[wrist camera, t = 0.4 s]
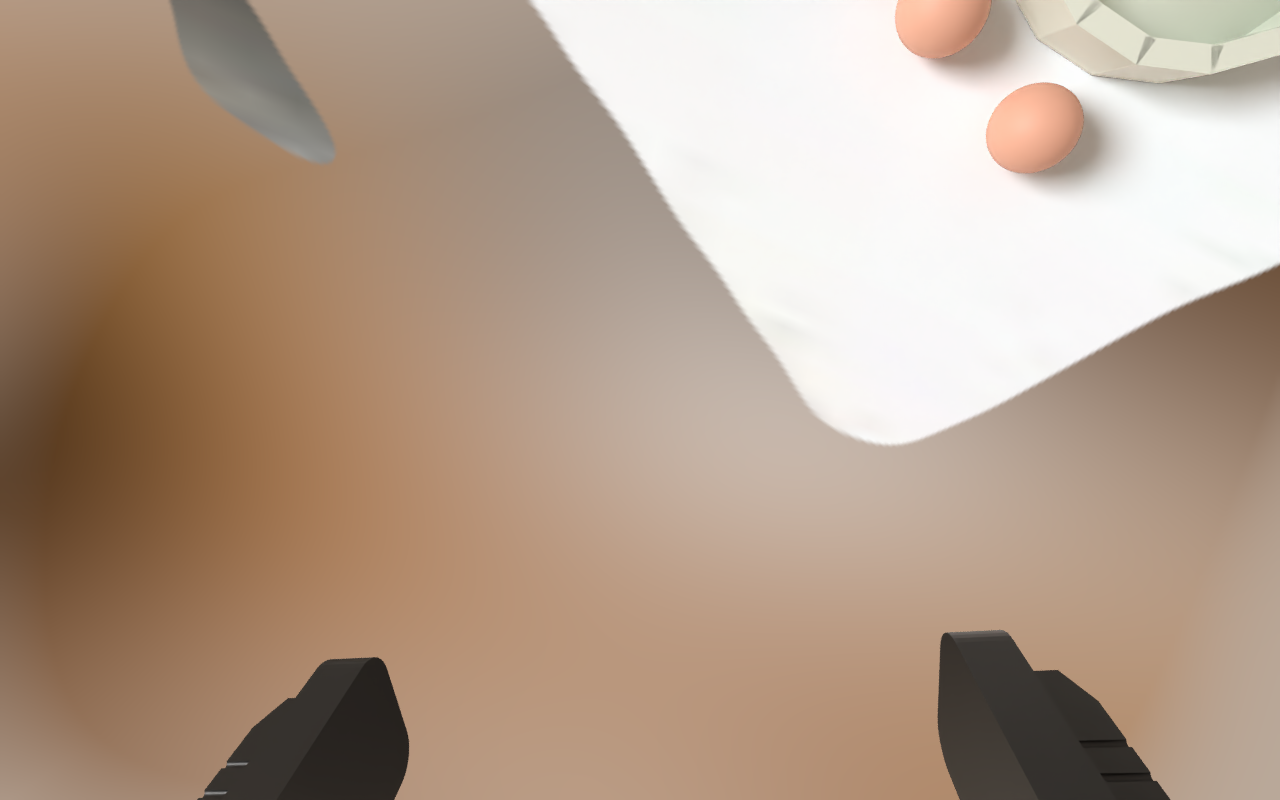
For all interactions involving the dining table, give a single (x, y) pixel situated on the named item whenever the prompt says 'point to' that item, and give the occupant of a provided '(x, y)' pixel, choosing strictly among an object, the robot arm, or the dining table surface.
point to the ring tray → (1157, 35)
